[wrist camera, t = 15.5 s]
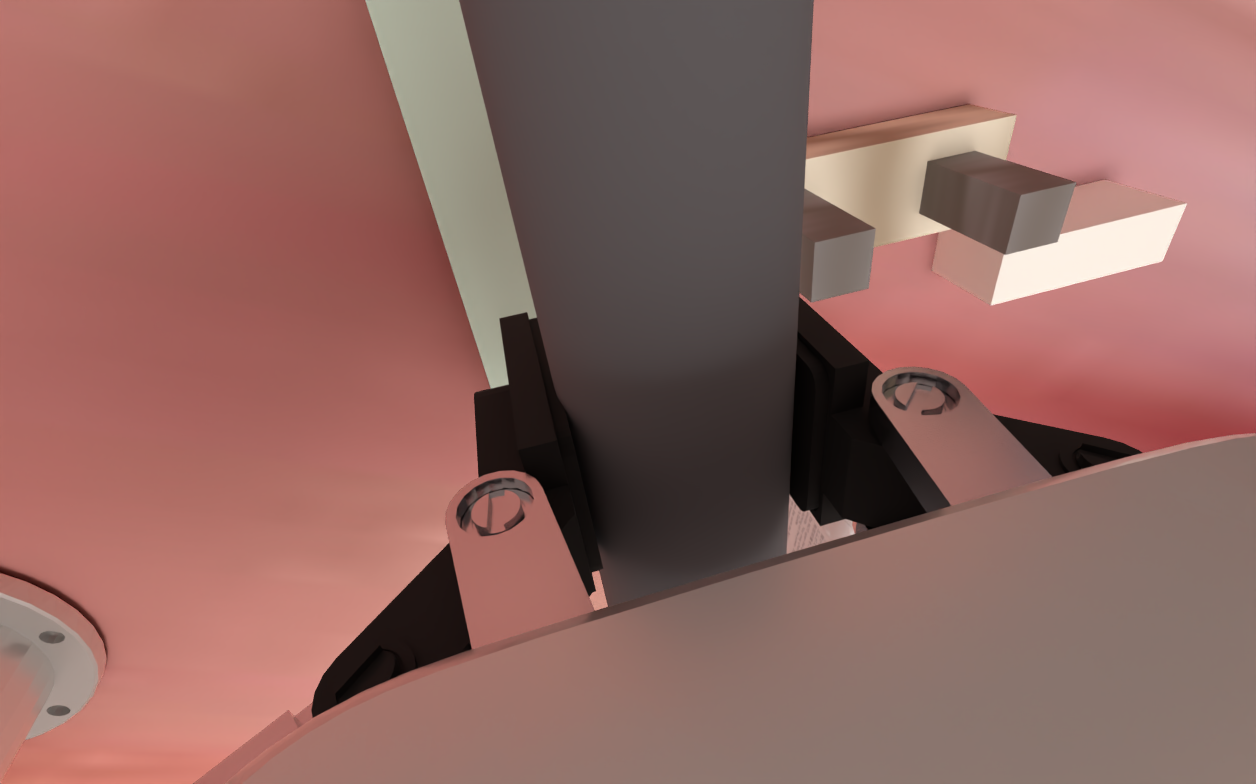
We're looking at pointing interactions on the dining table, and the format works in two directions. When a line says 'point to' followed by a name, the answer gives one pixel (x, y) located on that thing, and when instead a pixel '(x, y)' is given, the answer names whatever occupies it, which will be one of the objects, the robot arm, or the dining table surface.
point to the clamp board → (919, 193)
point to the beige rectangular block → (1067, 245)
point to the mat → (457, 162)
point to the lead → (661, 258)
